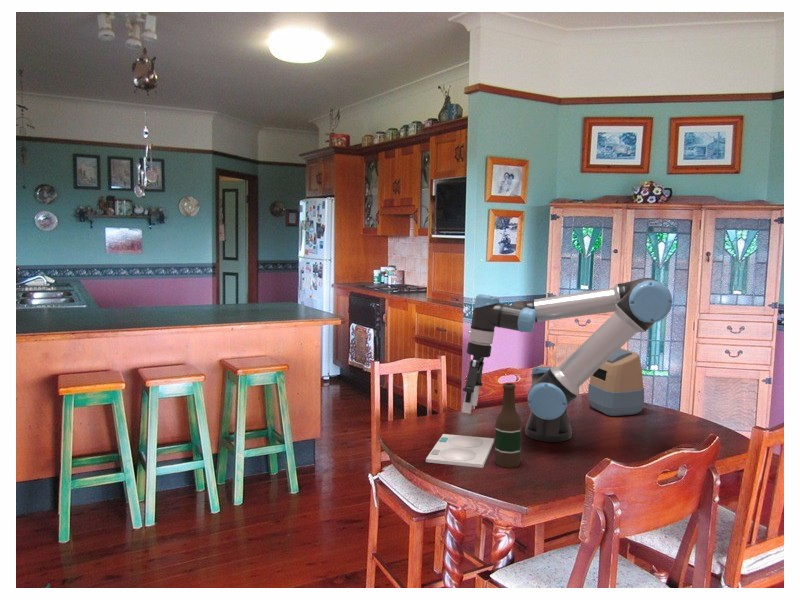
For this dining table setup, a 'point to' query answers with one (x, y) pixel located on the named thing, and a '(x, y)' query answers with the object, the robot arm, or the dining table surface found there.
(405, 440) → the dining table surface
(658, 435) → the dining table surface
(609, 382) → the tan tapered boxy piece
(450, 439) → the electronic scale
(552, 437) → the robot arm
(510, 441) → the beer bottle
